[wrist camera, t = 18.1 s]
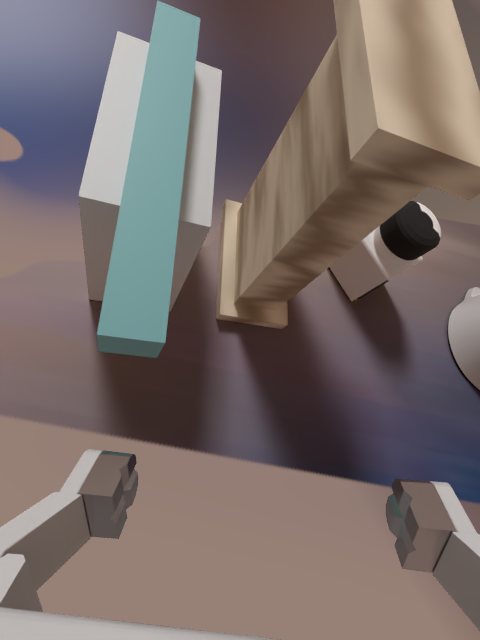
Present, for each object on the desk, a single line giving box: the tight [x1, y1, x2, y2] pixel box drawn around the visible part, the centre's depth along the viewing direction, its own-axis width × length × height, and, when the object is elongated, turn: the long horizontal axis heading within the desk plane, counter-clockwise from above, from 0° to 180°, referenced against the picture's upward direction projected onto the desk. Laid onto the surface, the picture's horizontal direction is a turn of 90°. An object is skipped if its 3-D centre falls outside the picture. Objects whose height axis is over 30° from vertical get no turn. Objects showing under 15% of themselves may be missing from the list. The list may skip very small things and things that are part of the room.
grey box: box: [79, 31, 222, 312], centre depth 32 cm, size 8×15×16 cm, turn 178°
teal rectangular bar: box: [97, 1, 200, 358], centre depth 22 cm, size 3×24×3 cm, turn 178°
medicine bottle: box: [329, 201, 441, 302], centre depth 43 cm, size 7×7×12 cm
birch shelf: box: [216, 0, 480, 329], centre depth 31 cm, size 8×15×26 cm, turn 178°
